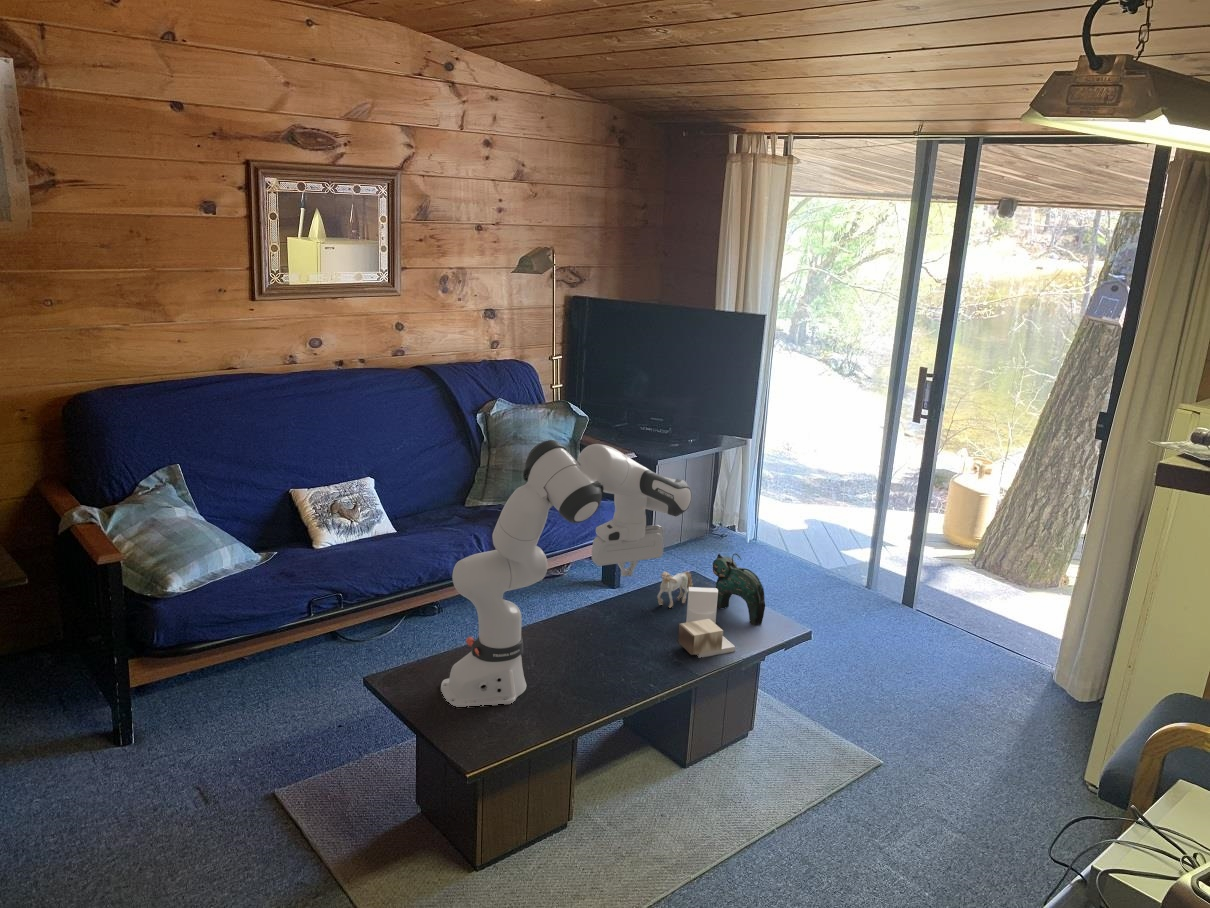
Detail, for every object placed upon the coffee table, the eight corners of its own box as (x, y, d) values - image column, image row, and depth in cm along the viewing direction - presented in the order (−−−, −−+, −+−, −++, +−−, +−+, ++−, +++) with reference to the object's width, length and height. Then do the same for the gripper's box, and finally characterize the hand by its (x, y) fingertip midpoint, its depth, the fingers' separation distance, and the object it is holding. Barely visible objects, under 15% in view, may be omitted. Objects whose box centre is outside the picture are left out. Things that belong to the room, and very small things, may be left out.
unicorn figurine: (647, 614, 301) (649, 575, 297) (674, 592, 317) (676, 555, 313) (667, 620, 297) (670, 580, 294) (694, 598, 314) (697, 560, 310)
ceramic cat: (707, 605, 309) (712, 547, 303) (721, 600, 313) (726, 543, 307) (754, 628, 294) (759, 568, 289) (768, 622, 298) (773, 563, 293)
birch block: (692, 635, 272) (723, 630, 276) (679, 623, 279) (709, 618, 283) (691, 654, 273) (721, 649, 277) (678, 642, 280) (707, 637, 284)
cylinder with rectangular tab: (714, 619, 299) (716, 584, 296) (716, 632, 290) (719, 596, 287) (685, 618, 299) (687, 582, 296) (686, 631, 291) (689, 595, 287)
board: (698, 658, 275) (699, 653, 274) (679, 639, 285) (679, 634, 285) (734, 651, 280) (735, 646, 279) (714, 633, 290) (714, 628, 290)
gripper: (658, 520, 265) (655, 566, 269) (590, 528, 257) (588, 575, 261) (668, 528, 259) (665, 575, 263) (599, 536, 251) (597, 585, 255)
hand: (626, 575), depth 262 cm, fingers closed
